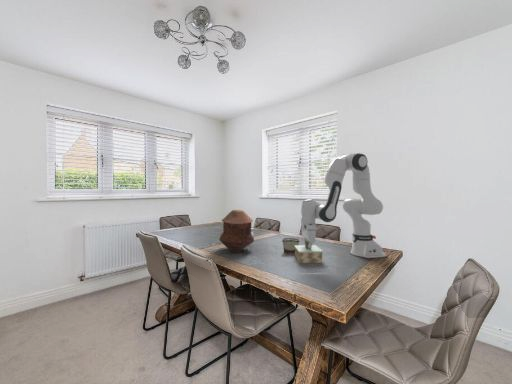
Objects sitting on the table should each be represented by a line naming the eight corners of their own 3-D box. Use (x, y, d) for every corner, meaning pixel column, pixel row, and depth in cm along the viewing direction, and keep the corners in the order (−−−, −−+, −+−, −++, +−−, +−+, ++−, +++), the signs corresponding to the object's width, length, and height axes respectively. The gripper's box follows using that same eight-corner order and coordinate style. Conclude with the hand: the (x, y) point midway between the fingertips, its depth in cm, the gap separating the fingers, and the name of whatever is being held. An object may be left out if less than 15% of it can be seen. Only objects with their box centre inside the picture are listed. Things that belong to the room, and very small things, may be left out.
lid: (316, 246, 157) (316, 239, 157) (323, 252, 142) (323, 244, 142) (294, 246, 157) (294, 239, 157) (299, 252, 142) (299, 244, 142)
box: (315, 256, 157) (315, 246, 157) (322, 263, 143) (322, 252, 143) (294, 257, 156) (295, 246, 156) (299, 263, 142) (299, 252, 142)
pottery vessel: (222, 245, 187) (222, 208, 186) (254, 246, 186) (254, 208, 185) (216, 255, 161) (215, 211, 160) (252, 255, 160) (252, 212, 159)
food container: (298, 251, 170) (298, 237, 170) (299, 253, 164) (299, 239, 164) (281, 251, 171) (281, 237, 171) (281, 253, 165) (281, 239, 165)
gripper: (299, 222, 159) (299, 242, 160) (307, 227, 139) (307, 250, 139) (308, 222, 160) (308, 242, 160) (317, 227, 139) (317, 250, 140)
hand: (308, 246), depth 149 cm, fingers open, 8 cm apart
